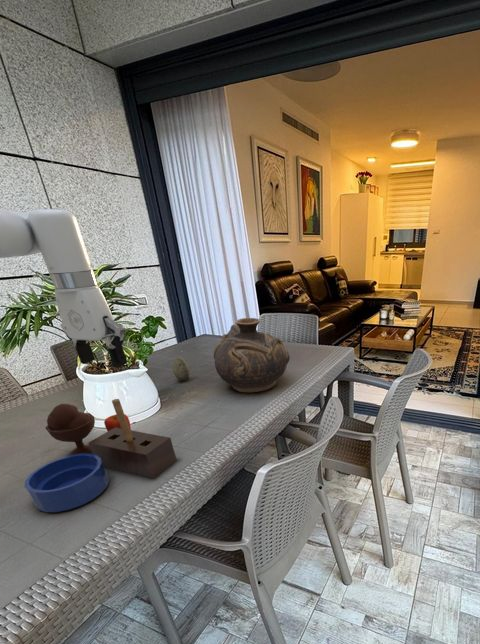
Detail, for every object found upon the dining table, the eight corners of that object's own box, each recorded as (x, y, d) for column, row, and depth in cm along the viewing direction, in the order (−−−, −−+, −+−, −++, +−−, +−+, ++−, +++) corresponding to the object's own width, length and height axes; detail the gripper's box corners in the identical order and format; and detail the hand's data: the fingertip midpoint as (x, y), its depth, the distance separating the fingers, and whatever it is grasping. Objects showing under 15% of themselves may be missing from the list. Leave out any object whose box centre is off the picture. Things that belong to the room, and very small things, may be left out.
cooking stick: (132, 464, 91) (110, 401, 82) (137, 460, 92) (115, 398, 84) (137, 465, 91) (115, 401, 82) (142, 461, 92) (120, 399, 83)
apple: (123, 432, 107) (116, 409, 103) (139, 435, 104) (131, 412, 101) (106, 442, 101) (97, 419, 98) (122, 446, 99) (113, 422, 96)
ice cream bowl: (114, 445, 100) (95, 397, 92) (76, 467, 91) (52, 415, 84) (89, 438, 104) (70, 392, 96) (50, 458, 95) (26, 408, 88)
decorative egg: (172, 382, 142) (166, 358, 137) (182, 377, 147) (176, 353, 142) (185, 383, 140) (179, 359, 135) (194, 378, 145) (189, 354, 140)
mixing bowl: (21, 506, 78) (8, 484, 75) (80, 469, 90) (71, 449, 87) (67, 520, 73) (56, 498, 71) (123, 479, 85) (115, 459, 82)
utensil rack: (97, 465, 91) (88, 442, 88) (123, 449, 98) (115, 427, 94) (153, 478, 85) (145, 454, 82) (176, 460, 92) (170, 437, 89)
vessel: (240, 369, 152) (234, 309, 140) (300, 378, 144) (299, 316, 132) (202, 393, 130) (191, 324, 117) (270, 405, 122) (266, 333, 110)
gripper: (27, 284, 70) (61, 366, 78) (90, 284, 65) (120, 372, 73) (62, 279, 76) (91, 355, 85) (122, 279, 71) (146, 360, 79)
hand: (104, 363), depth 79 cm, fingers open, 9 cm apart
